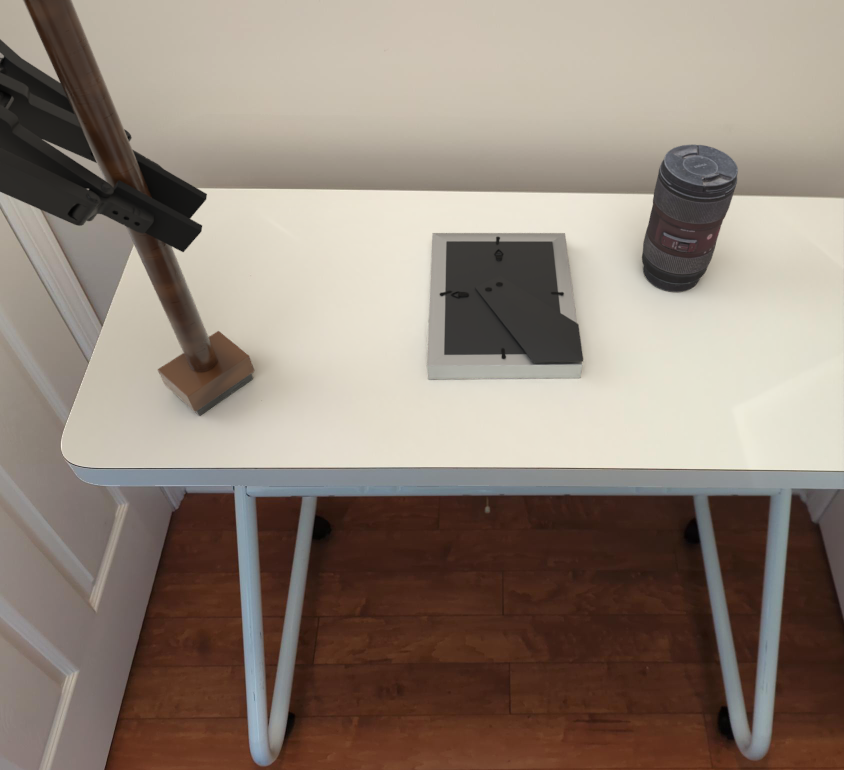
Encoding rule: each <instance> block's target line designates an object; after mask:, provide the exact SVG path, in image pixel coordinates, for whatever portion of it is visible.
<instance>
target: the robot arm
mask: <svg viewBox="0 0 844 770" xmlns="http://www.w3.org/2000/svg"><path fill="white" fill-rule="evenodd" d="M124 130H125V133H126V135H127V138H128V140H129V142H130V141H131V140H132V138H133V137H132V135H131V133H130V132H129V131H128V130H127V129H125V128H124ZM53 145H54V146H53ZM55 146H56V147H59V148H61V149H63V150H66V151H67V152H70V153H72V154H75V155H77V156H80V157H82V158H84V159H86V160H89V161H90V162H94V163H95V164H97V162H96V160H95V157H94V155H93V153H92V151H91V149H90V146H89V144H88V142H87V140H86V138H85V136H84V133H83V131H82V129H81V127H80V125H79V122H78V120H77V118H76V116H75V114H74V111H73V109H72V107H71V105H70V103H69V100H68V98H67V96H66V94H65V92H64V89H63V87H62V85H61V83H60V81H59V80H56V79H55V78H53V77H52V76H51V75H49V74H48V73H46V72H44V71H42V70H40V69H39V68H37V66H35V65H33V64H31V63H30V62H29V61H28V60H27V61H26V60H25V59H24V58H22V57H21V56H20V55H19V54H18V53H17V52H15V50H13V49H12V48H11V47H10V46H8V45H7V43H5V42H4V41H3V40H2V39H1V38H0V193H2V194H4V195H7V196H9V197H11V198H13V199H16V200H18V201H20V202H22V203H24V204H26V205H29V206H31V207H34V208H36V209H38V210H41V211H43V212H45V213H47V214H50V215H52V216H54V217H56V218H59V219H61V220H63V221H65V222H67V223H70V224H72V225H74V226H79V227H81V226H84V225H85V224H86V222H92V221H93V220H95V218H96V217H97V215H103V216H105V217H106V218H108V219H110V220H113V221H114V222H117V223H118V224H120V225H122V226H124V227H125V228H126V227H128V228H130V229H132V230H134V231H136V232H139V233H143V234H144V233H146V234H148V235H150V236H152V237H154V238H156V239H158V240H160V241H162V242H164V243H166V244H168V245H170V246H172V248H173V249H176V250H178V251H180V252H181V253H185V251H186V250H187V249H188V248H189V247H190V245H191V244H192V243H193V242H194V241H195V240H196V239H197V238H198V237H199V235H200V234H202V230H203V225H202V224H200V223H199V222H197V221H195V220H193V219H191V218H192V217H193V216H194V215H195V214H196V213H197V212H198V210H199V209H200V208H201V206H203V204H204V203H205V202H206V201H207V198H208V193H206V192H204V191H203V190H201V189H199V188H197V187H196V186H194V185H192V184H190V183H189V182H187V181H186V180H184V179H182V178H180V177H178V176H177V175H176V174H173V173H172V172H169V171H168V170H166V169H164V167H162V166H161V165H160V164H158V163H157V162H155V161H154V160H151V159H150V158H149V157H146V156H145V155H143V154H141V153H139V152H137V151H136V150H134V149H133V148H132V150H133V152H134V155H135V157H136V160H137V162H138V165H139V167H140V170H141V172H142V175H143V177H144V179H145V182H146V184H147V187H148V189H149V192H150V194H151V197H152V198H151V197H149V196H147V195H146V194H144V193H142V192H140V191H138V190H136V189H135V188H133V187H131V186H129V185H127V184H125V183H124V182H122V181H120V180H119V181H118V182H117V183H116V185H115V186H114V187H112V186H111V185H110V184H109V183H108V182H106V181H105V179H104V178H101V177H100V176H99V175H97V174H96V173H94V172H93V171H91V170H89V169H88V168H86V167H85V166H83V165H82V164H80V163H79V162H78V161H76V160H74V159H73V158H71V157H70V156H68V155H67V154H65V153H64V152H62V151H61V150H59V149H58V148H56V147H55Z"/></svg>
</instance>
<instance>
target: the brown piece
mask: <svg viewBox="0 0 844 770" xmlns="http://www.w3.org/2000/svg"><path fill="white" fill-rule="evenodd" d="M22 2H23V4H24V6H25V8H26V10H27V13H28V15H29V17H30V19H31V22H32V23H33V26H34V29H35V31H36V32H37V34H38V36H39V39H40V41H41V43H42V46H43V47H44V50H45V52H46V54H47V57H48V58H49V61H50V63H51V64H52V67H53V70H54V73H55V74H56V77H57V79H58V82H60V83H61V85H62V87H63V89H64V92H65V94H66V96H67V98H68V100H69V103H70V105H71V107H72V109H73V111H74V114H75V116H76V118H77V120H78V122H79V125H80V127H81V129H82V131H83V133H84V136H85V138H86V140H87V142H88V144H89V146H90V149H91V151H92V153H93V155H94V157H95V160H96V162H97V163H96V164H97V166H98V168H99V171H100V173H101V175H102V177H103V180H105V181H106V182H108V183H109V184H110V185H111V186H112V187H114V186H115V185H116V183H117V182H118V181H119V180H120V181H122V182H124V183H125V184H127V185H129V186H131V187H133V188H135V189H136V190H138V191H140V192H142V193H144V194H146V195H147V196H149V197H151V194H150V192H149V189H148V187H147V184H146V182H145V179H144V177H143V175H142V172H141V170H140V167H139V165H138V162H137V160H136V157H135V155H134V152H133V150H134V149H133V148H132V145H131V143H130V141H129V140H128V138H127V135H126V133H125V130H126V129H125V128H124V126H123V123H122V121H121V118H120V116H119V113H118V111H117V108H116V106H115V103H114V101H113V99H112V96H111V94H110V91H109V89H108V87H107V84H106V82H105V79H104V77H103V74H102V72H101V69H100V66H99V64H98V61H97V59H96V56H95V55H94V54H95V53H94V52H93V50H92V49H93V48H92V47H91V45H90V42H89V39H88V37H87V34H86V32H85V29H84V27H83V25H82V22H81V20H80V18H79V15H78V13H77V10H76V8H75V5H74V3H73V0H22ZM124 129H125V130H124ZM132 149H133V150H132ZM151 198H152V197H151ZM125 228H126V230H127V232H128V234H129V237H130V238H131V241H132V243H133V246H134V247H135V249H136V252H137V254H138V256H139V258H140V260H141V262H142V263H141V264H142V265H143V267H144V269H145V271H146V273H147V276H148V278H149V280H150V282H151V285H152V287H153V289H154V291H155V293H156V295H157V298H158V300H159V303H160V304H161V306H162V309H163V311H164V313H165V316H166V318H167V320H168V322H169V324H170V326H171V329H172V331H173V333H174V335H175V338H176V340H177V342H178V344H179V347H180V348H181V351H182V353H181V354H180V355H178V356H176V357H175V358H173V359H171V360H170V361H168V362H167V363H165V364H164V365H163V366H161V367H159V368H157V372H158V374H159V377H160V378H161V380H162V382H163V384H164V386H166V388H168V389H169V390H170V391H171V392H172V393H173V394H174V395H175V396H177V398H178V399H180V400H181V401H182V402H183V403H184V404H185V405H186V406H187V407H189V409H191V410H192V411H193V412H194V413H195V414H196V415H198V416H199V417H201V416H202V415H203V414H205V413H206V412H208V411H209V410H210V409H212V408H213V407H215V406H217V405H218V404H219V403H220V402H222V401H224V400H226V399H227V398H228V397H229V396H231V395H232V394H234V393H236V391H238V390H239V389H242V388H243V387H244V386H245V385H246V384H248V383H249V382H251V381H252V380H254V378H253V373H254V372H255V368H254V365H253V363H252V359H251V357H250V355H249V354H248V353H247V352H245V351H244V350H243V349H242V348H241V347H239V346H238V345H237V344H236V343H234V342H233V341H232V340H231V339H230V338H228V337H227V336H226V335H224V334H223V332H221V331H219V330H217V331H216V332H214V333H213V334H211V335H210V336H209V335H208V332H207V330H206V327H205V325H204V322H203V319H202V317H201V315H200V312H199V310H198V307H197V305H196V302H195V300H194V298H193V295H192V293H191V290H190V287H189V285H188V283H187V280H186V278H185V275H184V273H183V270H182V268H181V265H180V263H179V261H178V259H177V255H176V253H175V251H174V247H172V246H170V245H168V244H166V243H164V242H162V241H160V240H158V239H156V238H154V237H152V236H150V235H148V234H146V233H144V234H143V233H139V232H136V231H134V230H132V229H130V228H128V227H126V226H125Z"/></svg>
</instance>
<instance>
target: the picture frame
mask: <svg viewBox="0 0 844 770" xmlns="http://www.w3.org/2000/svg"><path fill="white" fill-rule="evenodd" d="M430 258H431V259H430V281H429V282H430V283H429V307H428V329H427V330H428V331H427V332H428V333H427V353H426V354H427V355H426V357H427V358H426V371H427V372H426V373H427V380H472V379H473V380H481V379H482V380H487V379H488V380H489V379H490V380H492V379H500V380H501V379H506V380H507V379H580V378H581V376H582V370H583V362H584V354H583V347H582V341H581V334H580V333H581V331H580V326H579V325H580V324H579V323H578V322H577V321H578V320H577V313H576V306H575V298H574V292H573V291H574V290H573V289H574V288H573V284H572V283H573V282H572V275H571V274H572V273H571V267H570V261H569V259H570V258H569V253H568V245H567V238H566V232H432V235H431V257H430Z"/></svg>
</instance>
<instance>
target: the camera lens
mask: <svg viewBox="0 0 844 770" xmlns="http://www.w3.org/2000/svg"><path fill="white" fill-rule="evenodd" d="M658 168H659V169H658V173H657V178H656V181H655V186H654V191H653V198H652V207H651V211H650V214H649V215H650V216H649V219H648V222H647V223H648V224H647V227H646V230H645V234H644V239H643V242H642V254H641V261H642V271H643V275H644V277H645V279H646V280H647V281H648V282H649V284H651V285H652V286H654V287H656V288H657V289H659V290H662V291H665V292H671V293H679V292H680V293H681V292H686V291H689V290H691V289H693V288H694V287H695V286H697V284H698V283H699V281H700V280H701V278H702V277H703V276H704V275H705V274H706V272H707V269H708V267H709V265H710V264H711V262H712V259H713V256H714V252H715V250H716V247H717V246H716V245H717V241H718V238H719V235H720V232H721V229H722V225H723V222H724V219H725V218H726V215H727V213H728V211H729V209H730V205H731V203H732V199H733V197H734V193H735V190H736V187H737V184H738V173H739V168H738V165H737V163H736V161H735V160H734V159H733V157H731V156H730V155H729V154H727V153H726V152H724V151H722V150H720V149H718V148H716V147H713V146H710V145H709V146H708V145H705V144H684V145H678V146H676V147H673V148H672V149H670V150H668V151H667V152H666V153H665V155H664V157H663V160H662V161H661V163H660V164H659V167H658Z"/></svg>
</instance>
